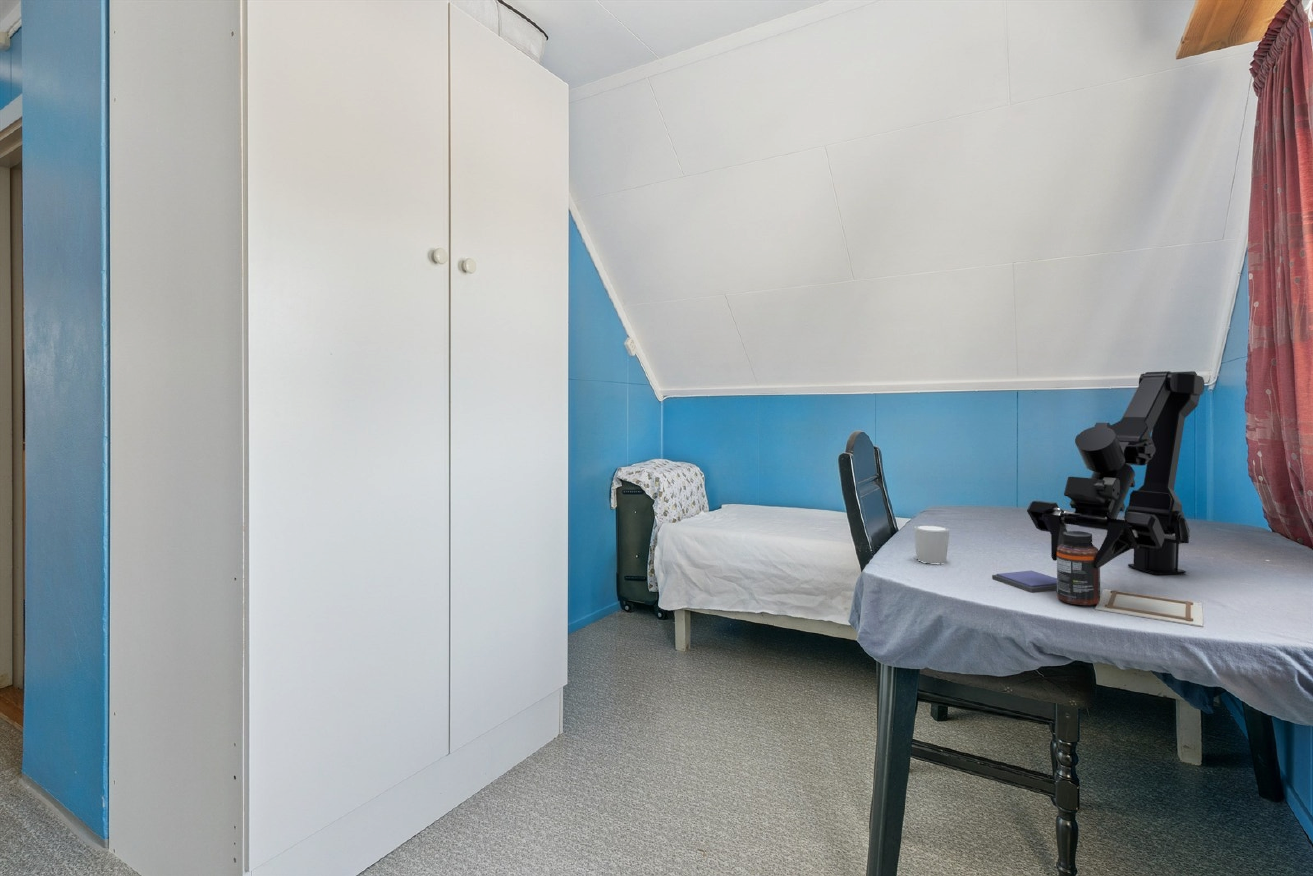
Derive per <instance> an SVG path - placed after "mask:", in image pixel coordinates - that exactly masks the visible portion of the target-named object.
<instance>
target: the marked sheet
mask: <svg viewBox="0 0 1313 876" xmlns="http://www.w3.org/2000/svg"><path fill="white" fill-rule="evenodd" d="M1198 604H1202V605H1198ZM1094 608H1095V610H1098V611H1104V612H1110V613H1117V614H1120V615H1122V614H1123V615H1129V616H1133V617H1134V616H1135V617H1141V618H1147V619H1151V620H1152V619H1153V620H1159V621H1164V622H1170V623H1177V624H1182V625H1189V626H1195V627H1201V628H1204V618H1203V617H1204V616H1203V615H1204V614H1203V603H1201V602H1196V601H1191V600H1190V601H1188V600H1181V599H1174V598H1167V597H1162V596H1153V595H1147V594H1140V593H1132V592H1126V591H1119V590H1113V589H1112V590H1111V589H1108V588H1107V589H1105V588H1103V590H1102V592H1101V593H1100V602H1099V603H1097V604H1096V606H1095V607H1094Z"/></svg>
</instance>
